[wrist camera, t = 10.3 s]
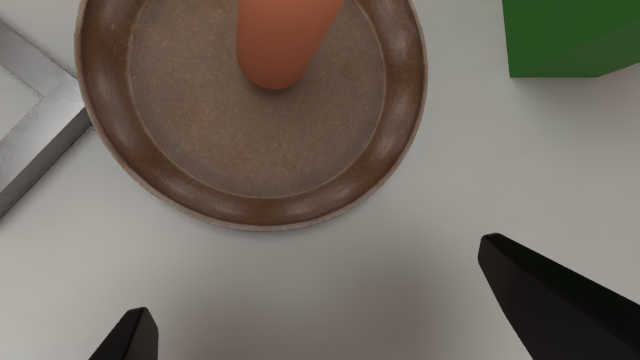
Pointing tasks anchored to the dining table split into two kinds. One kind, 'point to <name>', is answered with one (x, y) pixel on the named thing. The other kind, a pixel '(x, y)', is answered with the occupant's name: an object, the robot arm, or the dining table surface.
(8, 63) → the collar
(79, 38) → the plant saucer
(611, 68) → the hardback book
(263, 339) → the dining table surface
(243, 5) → the stop pin
